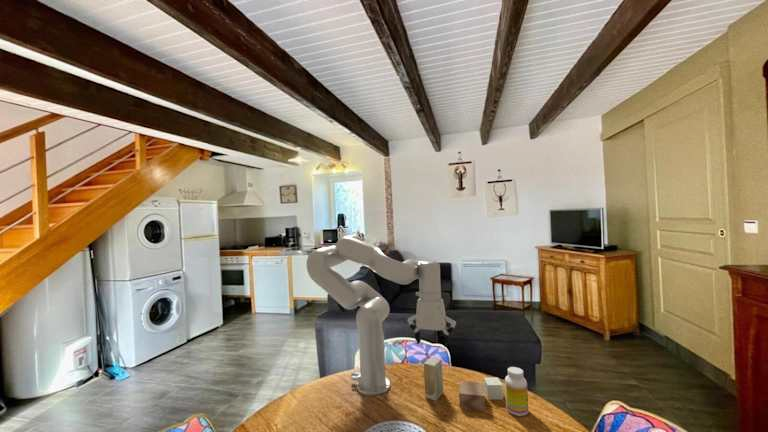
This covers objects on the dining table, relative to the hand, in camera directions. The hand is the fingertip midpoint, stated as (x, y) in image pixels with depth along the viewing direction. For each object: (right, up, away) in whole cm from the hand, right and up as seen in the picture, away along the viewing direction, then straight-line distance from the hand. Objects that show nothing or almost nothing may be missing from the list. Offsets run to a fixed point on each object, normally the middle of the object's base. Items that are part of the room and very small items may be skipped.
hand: (432, 344), depth 109 cm
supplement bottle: (+26, -17, -11) cm, 33 cm away
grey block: (+21, -17, -2) cm, 28 cm away
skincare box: (+1, -18, 0) cm, 18 cm away
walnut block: (+13, -18, -5) cm, 23 cm away
